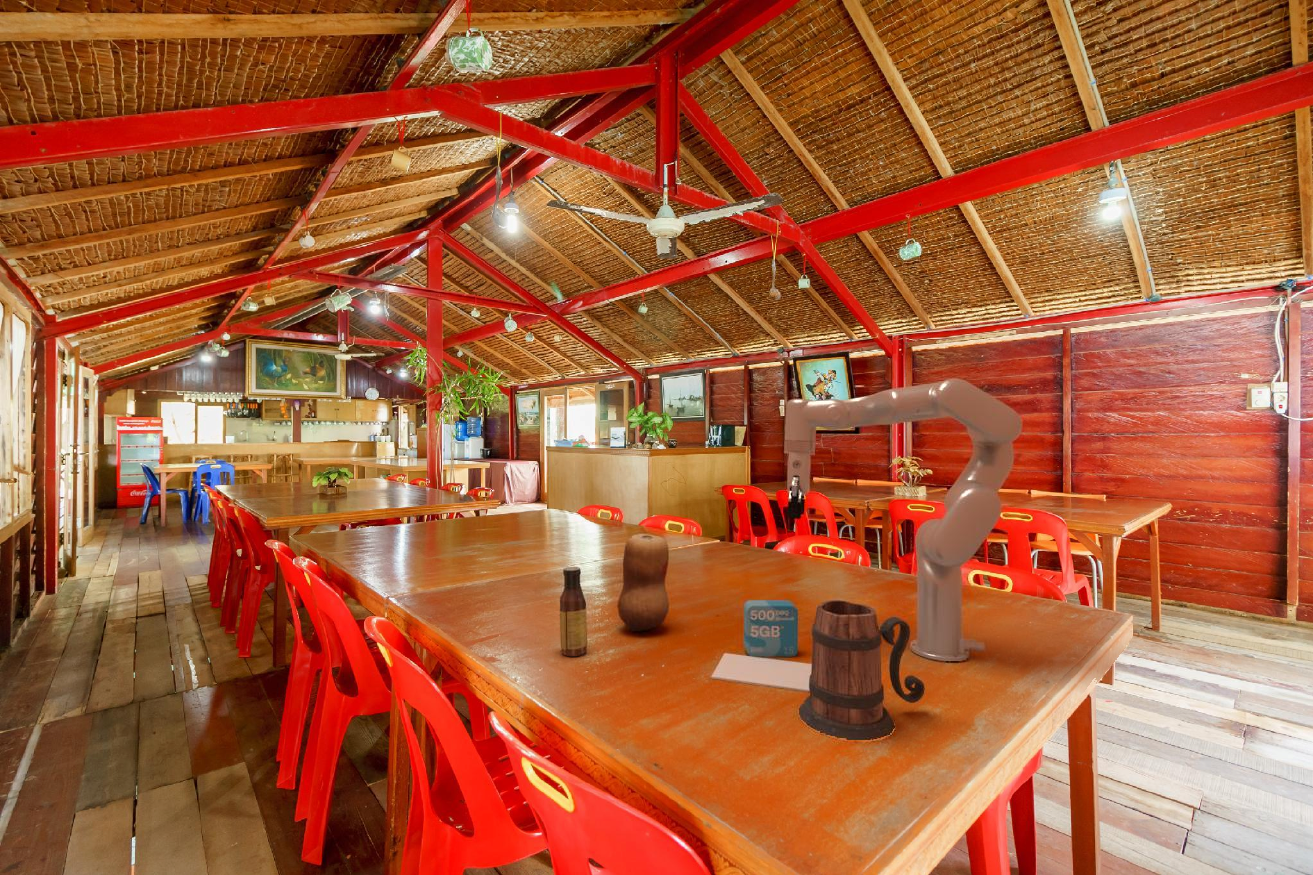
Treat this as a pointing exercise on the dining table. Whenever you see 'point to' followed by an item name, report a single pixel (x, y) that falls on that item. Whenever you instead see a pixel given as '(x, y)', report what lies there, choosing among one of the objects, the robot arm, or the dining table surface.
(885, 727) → the tankard
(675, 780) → the dining table surface
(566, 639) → the sauce bottle
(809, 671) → the mat
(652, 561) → the butternut squash
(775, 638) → the data package
